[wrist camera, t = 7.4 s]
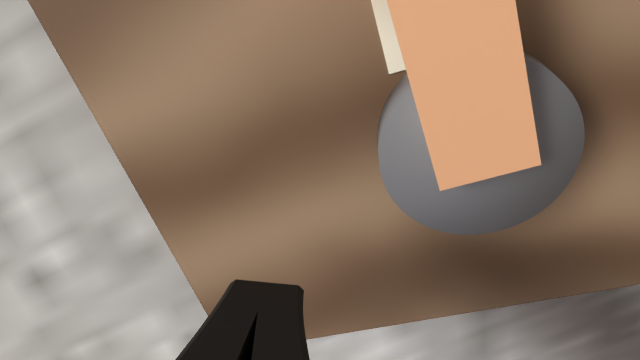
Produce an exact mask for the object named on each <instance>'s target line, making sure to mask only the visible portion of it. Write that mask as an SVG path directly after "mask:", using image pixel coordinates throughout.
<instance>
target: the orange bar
mask: <svg viewBox="0 0 640 360" xmlns="http://www.w3.org/2000/svg"><path fill="white" fill-rule="evenodd" d="M387 4H388V7H389V11H390V14H391V18H392V21H393V25H394V29H395V32H396V36H397V39H398V43H399V46H400V50H401V54H402V57H403V61H404V64H405V68H406V72H407V74H406V75H405V76H404V77H403V78H402V79H401V80H400V81H399V82H398V84H397V85H396V86H395V87H394V89H393V90H392V92H391V93H390V95H389V96H388V98H387V100H386V102H385V104H384V106H383V109H382V112H381V115H380V119H379V124H378V131H377V144H378V156H379V167H380V173H381V177H382V181H383V183H384V185H385V188H386V190H387V192H388V193H389V195H390V197H391V198H392V200H393V201H394V202H395V203H396V205H397V206H398V207H399V208H400V209H401V210H402V211H403V212H404V213H405V214H407V215H408V216H409V217H411V218H412V219H414V220H415V221H417V222H418V223H420V224H422V225H424V226H426V227H429V228H432V229H434V230H437V231H441V232H445V233H451V234H458V235H478V234H487V233H492V232H497V231H501V230H504V229H508V228H510V227H513V226H516V225H518V224H520V223H522V222H524V221H526V220H528V219H530V218H532V217H533V216H535V215H537V214H538V213H540V212H541V211H543V210H544V209H545V208H546V207H547V206H549V205H550V204H551V203H552V202H553V201H554V200H555V199H556V198H557V197H558V196H559V195H560V194H561V193H562V192H563V190H564V189H565V188H566V187H567V185H568V184H569V182H570V181H571V179H572V177H573V176H574V174H575V172H576V170H577V168H578V165H579V163H580V160H581V156H582V153H583V148H584V140H585V130H584V122H583V116H582V113H581V110H580V108H579V105H578V103H577V101H576V99H575V97H574V96H573V94H572V93H571V91H570V90H569V89H568V88H567V86H566V85H565V84H564V83H563V82H562V81H561V80H560V79H559V78H558V77H557V76H556V75H555V74H554V73H553V72H552V71H551V70H550V69H549V68H547V67H546V66H545V65H544V64H543V63H542V62H541V61H539V60H538V59H537V58H535V57H533V56H532V55H530V54H529V53H527V52H524V51H523V45H522V39H521V33H520V26H519V20H518V14H517V7H516V1H515V0H387Z"/></svg>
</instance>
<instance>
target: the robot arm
mask: <svg viewBox="0 0 640 360" xmlns="http://www.w3.org/2000/svg"><path fill="white" fill-rule="evenodd" d="M303 299H304V290H303V289H302V288H301V287H300V286H299V285H291V284H280V283H270V282H259V281H248V280H238V279H236V280H234V281H233V282H231V283H230V284H229V286H228V288H227V289H226V291H225V293H224V294H223V296H222V297H221V299H220V300H219V302H218V303H217V305H216V306H215V308H214V309H213V311H212V312H211V314H210V315H209V316H208V318H207V319H206V321H205V322H204V323H203V325H202V326H201V327H200V329H199V330H198V331H197V333H196V334H195V335H194V337H193V338H192V339H191V341H190V342H189V343H188V344H187V346H186V347H185V348H184V349H183V351H182V352H181V353H180V355H179V356H178V357H177V358H176V360H309V354H308V349H307V343H306V335H305V328H304V317H303Z"/></svg>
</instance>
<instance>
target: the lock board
mask: <svg viewBox="0 0 640 360" xmlns="http://www.w3.org/2000/svg"><path fill="white" fill-rule="evenodd" d="M515 1H516V7H517V14H518V20H519V26H520V33H521V39H522V45H523V51H524V52H527V53H529V54H530V55H532V56H533V57H535V58H537V59H538V60H539V61H541V62H542V63H543V64H544V65H545V66H546V67H547V68H549V69H550V70H551V71H552V72H553V73H554V74H555V75H556V76H557V77H558V78H559V79H560V80H561V81H562V82H563V83H564V84H565V85H566V86H567V88H568V89H569V90H570V91H571V93H572V94H573V96H574V97H575V99H576V101H577V103H578V105H579V108H580V110H581V113H582V116H583V122H584V130H585V140H584V148H583V153H582V156H581V160H580V163H579V165H578V168H577V170H576V172H575V174H574V176H573V177H572V179H571V181H570V182H569V184H568V185H567V187H566V188H565V189H564V190H563V192H562V193H561V194H560V195H559V196H558V197H557V198H556V199H555V200H554V201H553V202H552V203H551V204H550V205H549V206H547V207H546V208H545V209H544V210H543V211H541V212H540V213H538V214H537V215H535V216H533V217H532V218H530V219H528V220H526V221H524V222H522V223H520V224H518V225H516V226H513V227H510V228H508V229H504V230H501V231H497V232H492V233H487V234H478V235H458V234H451V233H445V232H441V231H437V230H434V229H432V228H429V227H426V226H424V225H422V224H420V223H418V222H417V221H415V220H414V219H412V218H411V217H409V216H408V215H407V214H405V213H404V212H403V211H402V210H401V209H400V208H399V207H398V206H397V205H396V203H395V202H394V201H393V200H392V198H391V197H390V195H389V193H388V192H387V190H386V188H385V185H384V183H383V181H382V177H381V173H380V167H379V156H378V144H377V131H378V124H379V119H380V115H381V112H382V109H383V106H384V104H385V102H386V100H387V98H388V96H389V95H390V93H391V92H392V90H393V89H394V87H395V86H396V85H397V84H398V82H399V81H400V80H401V79H402V78H403V77H404V76H405V75H406V74H407V72H406V68H405V64H404V61H403V57H402V54H401V50H400V46H399V43H398V39H397V36H396V32H395V29H394V25H393V21H392V18H391V14H390V11H389V7H388V4H387V0H28V2H29V4H30V5H31V7H32V9H33V11H34V12H35V14H36V16H37V18H38V19H39V21H40V23H41V25H42V26H43V28H44V30H45V32H46V33H47V35H48V37H49V39H50V40H51V42H52V44H53V46H54V47H55V49H56V51H57V53H58V54H59V56H60V58H61V60H62V61H63V63H64V65H65V67H66V68H67V70H68V72H69V73H70V75H71V77H72V79H73V80H74V82H75V84H76V86H77V87H78V89H79V91H80V93H81V94H82V96H83V98H84V100H85V101H86V103H87V105H88V107H89V108H90V110H91V112H92V114H93V115H94V117H95V119H96V121H97V122H98V124H99V126H100V128H101V129H102V131H103V133H104V135H105V136H106V138H107V140H108V142H109V143H110V145H111V147H112V149H113V150H114V152H115V154H116V156H117V157H118V159H119V161H120V163H121V164H122V166H123V168H124V170H125V171H126V173H127V175H128V177H129V178H130V180H131V182H132V184H133V185H134V187H135V189H136V191H137V192H138V194H139V196H140V198H141V199H142V201H143V203H144V205H145V206H146V208H147V210H148V212H149V213H150V215H151V217H152V219H153V220H154V222H155V224H156V226H157V227H158V229H159V231H160V233H161V234H162V236H163V238H164V240H165V241H166V243H167V245H168V247H169V248H170V250H171V252H172V254H173V255H174V257H175V259H176V261H177V262H178V264H179V266H180V268H181V269H182V271H183V273H184V275H185V276H186V278H187V280H188V282H189V283H190V285H191V287H192V289H193V290H194V292H195V294H196V296H197V297H198V299H199V301H200V303H201V304H202V306H203V308H204V310H205V311H206V313H207V315H208V316H209V315H210V314H211V312H212V311H213V309H214V308H215V306H216V305H217V303H218V302H219V300H220V299H221V297H222V296H223V294H224V293H225V291H226V289H227V288H228V286H229V284H230V283H231V282H233V281H234V280H236V279H238V280H248V281H259V282H270V283H280V284H291V285H299V286H300V287H301V288H302V289H303V290H304V299H303V317H304V328H305V335H306V339H312V338H318V337H324V336H330V335H336V334H342V333H348V332H354V331H361V330H367V329H373V328H379V327H385V326H391V325H397V324H403V323H409V322H415V321H421V320H427V319H433V318H439V317H445V316H451V315H457V314H463V313H469V312H475V311H481V310H487V309H493V308H499V307H505V306H511V305H517V304H523V303H529V302H535V301H541V300H547V299H553V298H559V297H565V296H571V295H577V294H583V293H589V292H595V291H601V290H607V289H613V288H619V287H625V286H631V285H637V284H640V0H515Z"/></svg>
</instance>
